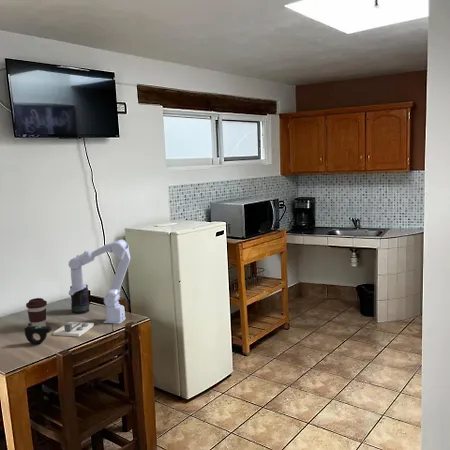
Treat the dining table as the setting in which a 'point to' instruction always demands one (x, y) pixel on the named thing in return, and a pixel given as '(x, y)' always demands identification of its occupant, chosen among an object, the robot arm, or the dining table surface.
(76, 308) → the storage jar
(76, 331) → the console
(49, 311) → the dining table surface
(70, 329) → the fader tab
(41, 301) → the coffee cup
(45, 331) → the controller
